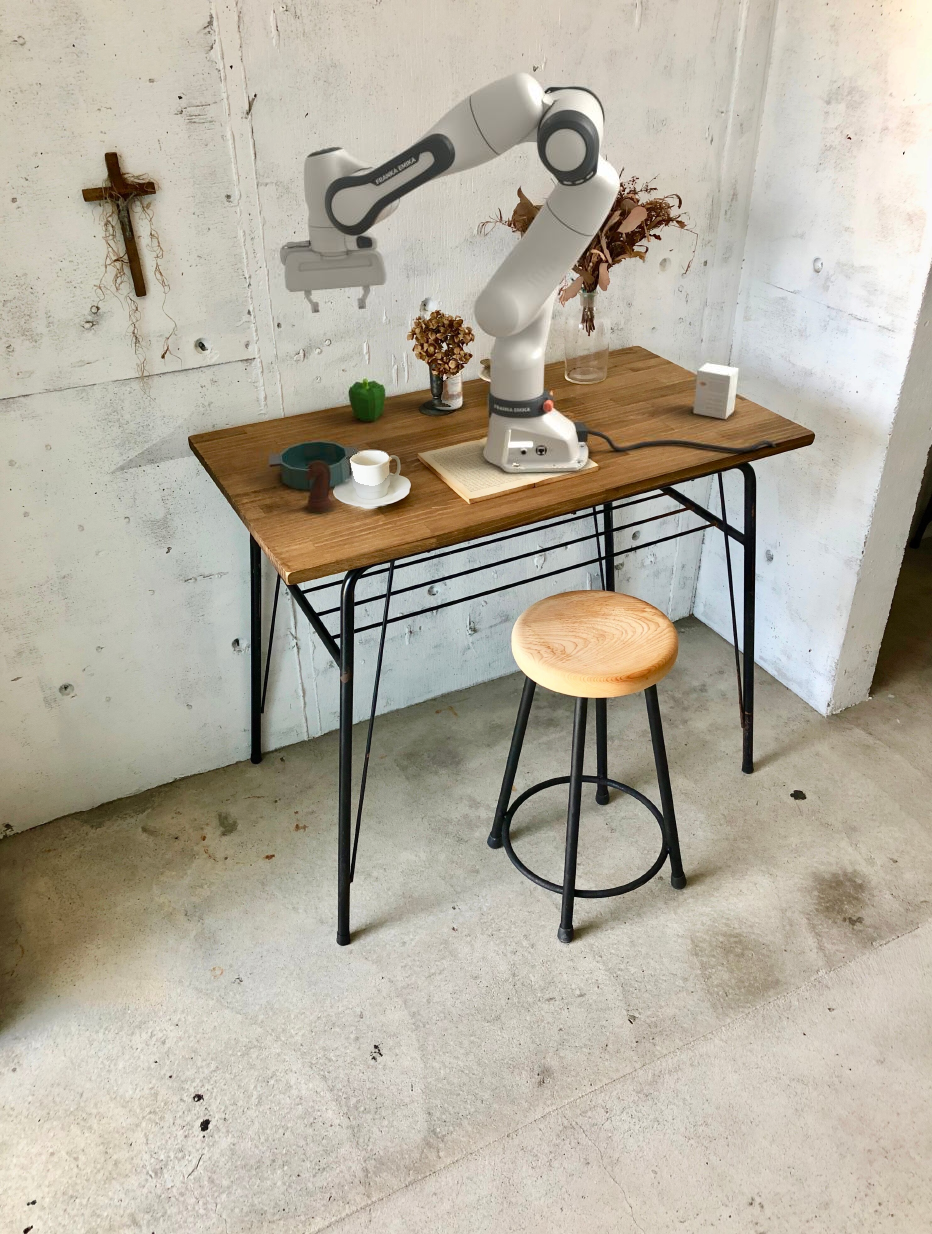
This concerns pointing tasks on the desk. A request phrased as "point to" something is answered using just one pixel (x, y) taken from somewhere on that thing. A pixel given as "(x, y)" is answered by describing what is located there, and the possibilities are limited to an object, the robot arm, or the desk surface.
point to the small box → (715, 390)
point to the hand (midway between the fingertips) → (338, 310)
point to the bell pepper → (367, 400)
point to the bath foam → (452, 392)
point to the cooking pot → (301, 455)
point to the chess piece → (319, 487)
